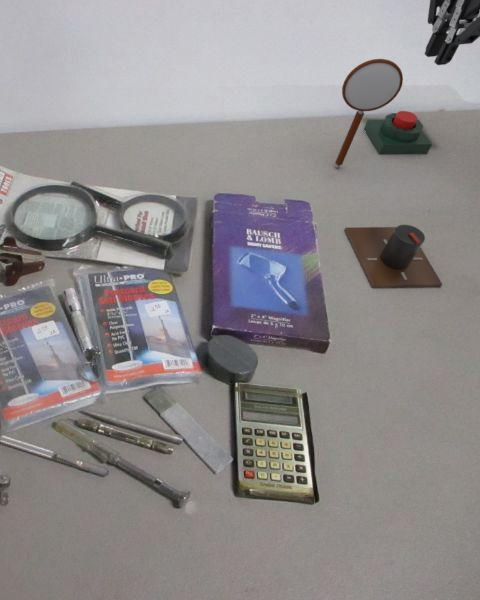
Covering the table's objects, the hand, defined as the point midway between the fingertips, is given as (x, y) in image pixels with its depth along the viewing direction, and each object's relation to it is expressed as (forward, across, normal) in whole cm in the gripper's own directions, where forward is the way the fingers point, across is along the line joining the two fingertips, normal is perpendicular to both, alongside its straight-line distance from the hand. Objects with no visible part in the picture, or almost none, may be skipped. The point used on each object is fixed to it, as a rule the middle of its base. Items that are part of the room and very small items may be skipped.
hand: (435, 59), depth 98 cm
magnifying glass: (+16, -5, +15) cm, 23 cm away
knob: (+14, -30, +20) cm, 38 cm away
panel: (+16, -29, +19) cm, 38 cm away
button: (+12, 0, 0) cm, 12 cm away
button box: (+16, 0, 0) cm, 16 cm away
